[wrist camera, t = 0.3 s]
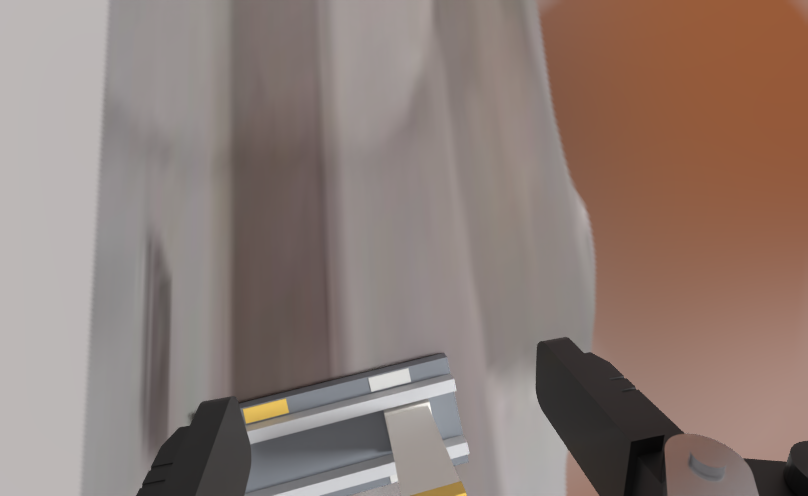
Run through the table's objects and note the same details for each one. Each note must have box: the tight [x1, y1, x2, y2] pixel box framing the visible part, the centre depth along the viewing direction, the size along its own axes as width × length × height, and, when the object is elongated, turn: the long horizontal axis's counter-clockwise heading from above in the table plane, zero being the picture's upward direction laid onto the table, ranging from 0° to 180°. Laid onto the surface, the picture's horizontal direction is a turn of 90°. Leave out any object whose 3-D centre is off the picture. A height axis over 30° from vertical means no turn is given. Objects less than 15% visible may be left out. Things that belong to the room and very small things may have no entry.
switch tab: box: [384, 398, 467, 496], centre depth 33 cm, size 4×5×15 cm
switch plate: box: [239, 353, 469, 496], centre depth 39 cm, size 24×11×3 cm, turn 102°
